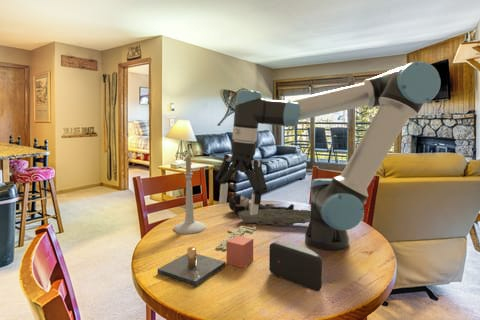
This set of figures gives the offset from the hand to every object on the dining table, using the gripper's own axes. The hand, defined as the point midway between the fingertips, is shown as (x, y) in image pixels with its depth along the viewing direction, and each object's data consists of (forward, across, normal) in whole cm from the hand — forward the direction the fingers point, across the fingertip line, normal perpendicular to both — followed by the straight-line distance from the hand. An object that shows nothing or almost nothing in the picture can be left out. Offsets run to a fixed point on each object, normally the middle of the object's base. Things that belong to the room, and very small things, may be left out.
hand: (237, 208), depth 101 cm
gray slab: (+17, -2, -15) cm, 23 cm away
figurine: (+16, -24, +42) cm, 51 cm away
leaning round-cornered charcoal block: (+14, +24, 0) cm, 28 cm away
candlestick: (+18, -32, +8) cm, 38 cm away
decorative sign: (+16, -12, +13) cm, 24 cm away
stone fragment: (+15, -10, +35) cm, 39 cm away
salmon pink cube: (+16, +4, -1) cm, 16 cm away
